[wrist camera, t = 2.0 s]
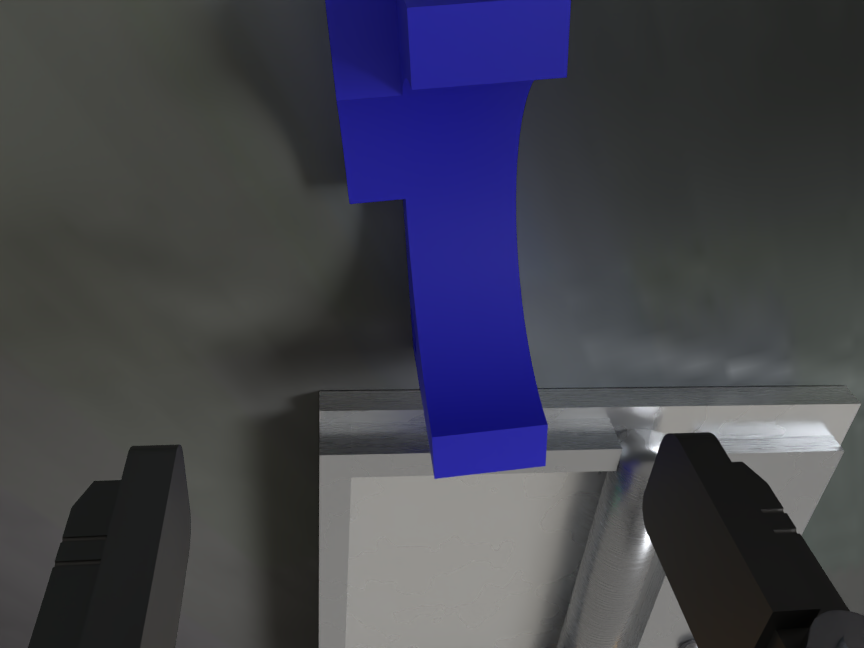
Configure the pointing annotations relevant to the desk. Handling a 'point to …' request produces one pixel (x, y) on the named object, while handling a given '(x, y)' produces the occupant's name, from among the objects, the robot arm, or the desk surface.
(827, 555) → the desk surface
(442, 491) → the hinge plate
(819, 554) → the desk surface
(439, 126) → the blue stepped long block
